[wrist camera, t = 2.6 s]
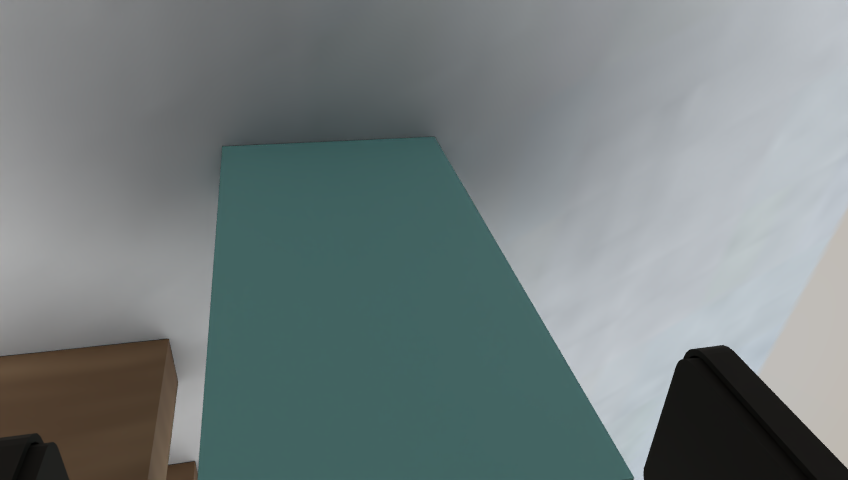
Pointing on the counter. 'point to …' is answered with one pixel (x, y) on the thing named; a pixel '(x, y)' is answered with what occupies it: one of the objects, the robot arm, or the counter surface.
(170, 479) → the domino
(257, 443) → the domino
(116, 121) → the counter surface
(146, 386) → the domino
